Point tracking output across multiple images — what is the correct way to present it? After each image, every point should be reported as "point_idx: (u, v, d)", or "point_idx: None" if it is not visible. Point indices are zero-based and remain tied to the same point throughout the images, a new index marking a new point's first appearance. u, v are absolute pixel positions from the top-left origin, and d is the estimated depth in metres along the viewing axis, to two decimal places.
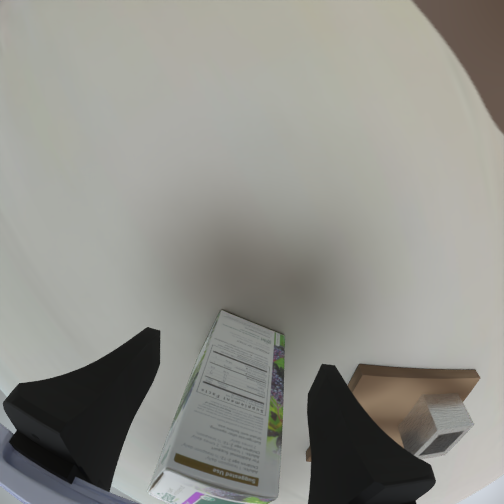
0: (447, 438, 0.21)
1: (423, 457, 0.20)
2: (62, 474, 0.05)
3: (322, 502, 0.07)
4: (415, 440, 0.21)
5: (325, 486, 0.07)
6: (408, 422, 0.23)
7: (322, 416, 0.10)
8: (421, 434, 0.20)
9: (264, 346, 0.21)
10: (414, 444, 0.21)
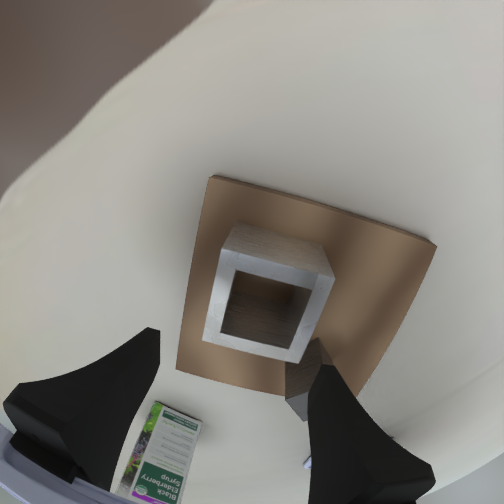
0: None
1: (305, 336, 0.15)
2: (62, 474, 0.05)
3: (322, 502, 0.07)
4: None
5: (325, 486, 0.07)
6: None
7: (322, 416, 0.10)
8: None
9: None
10: None
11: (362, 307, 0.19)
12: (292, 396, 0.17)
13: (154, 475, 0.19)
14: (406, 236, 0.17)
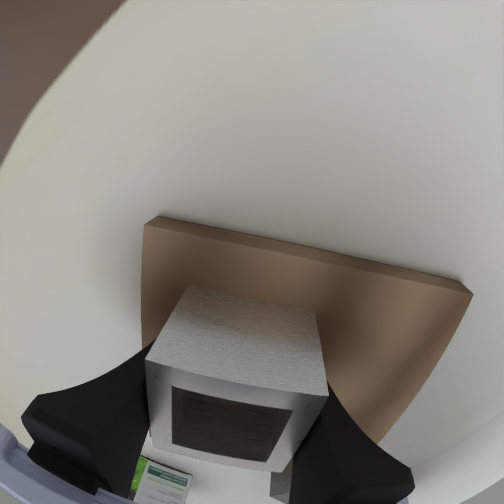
0: None
1: (286, 452, 0.09)
2: (85, 486, 0.05)
3: (300, 502, 0.07)
4: None
5: (303, 486, 0.07)
6: None
7: None
8: None
9: None
10: None
11: (372, 378, 0.14)
12: (278, 493, 0.11)
13: None
14: (435, 287, 0.12)
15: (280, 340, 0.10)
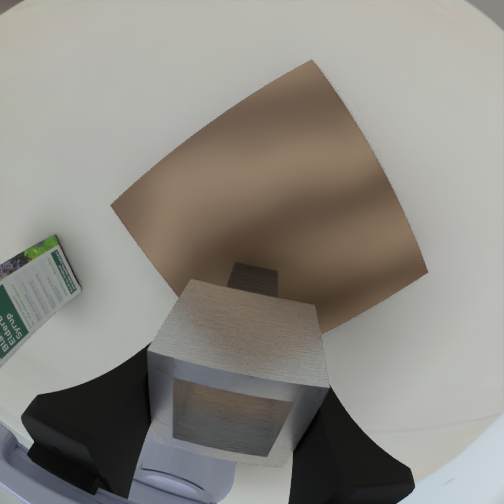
0: None
1: (287, 446, 0.09)
2: (85, 486, 0.05)
3: (300, 502, 0.07)
4: None
5: (303, 486, 0.07)
6: None
7: None
8: None
9: None
10: None
11: (337, 272, 0.19)
12: None
13: (1, 307, 0.14)
14: (415, 241, 0.17)
15: (281, 333, 0.10)
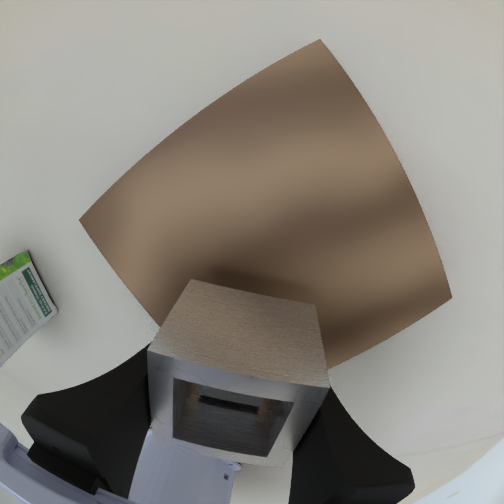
0: None
1: (287, 446, 0.09)
2: (85, 486, 0.05)
3: (300, 502, 0.07)
4: None
5: (303, 486, 0.07)
6: None
7: None
8: None
9: None
10: None
11: (348, 301, 0.15)
12: None
13: None
14: (440, 263, 0.14)
15: (281, 333, 0.10)
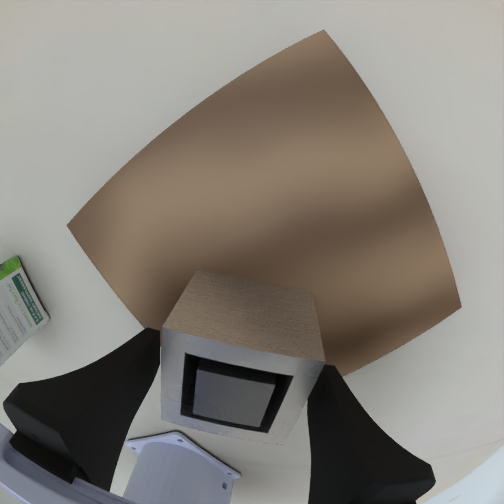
0: None
1: (287, 421, 0.10)
2: (62, 474, 0.05)
3: (322, 502, 0.07)
4: None
5: (325, 486, 0.07)
6: None
7: (322, 416, 0.10)
8: None
9: None
10: None
11: (354, 312, 0.14)
12: (212, 371, 0.10)
13: None
14: (450, 271, 0.13)
15: (282, 315, 0.11)
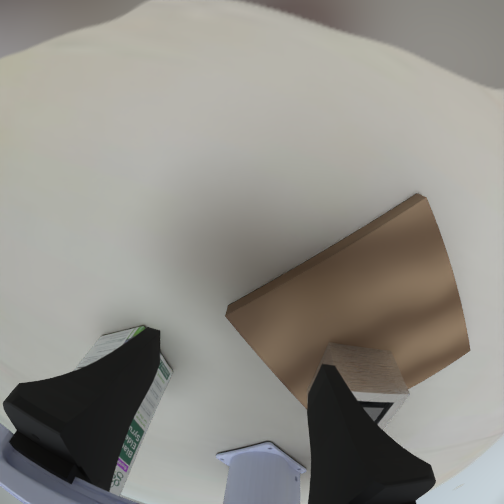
0: None
1: (382, 425, 0.17)
2: (62, 474, 0.05)
3: (322, 502, 0.07)
4: None
5: (325, 486, 0.07)
6: None
7: (322, 416, 0.10)
8: None
9: (116, 345, 0.21)
10: None
11: (410, 359, 0.21)
12: None
13: None
14: (466, 332, 0.20)
15: (383, 370, 0.18)
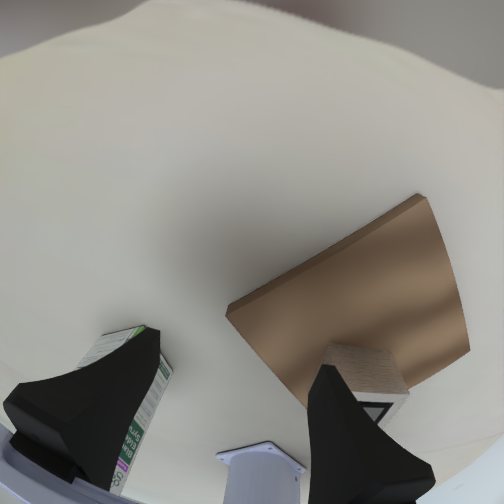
0: None
1: (382, 425, 0.17)
2: (62, 474, 0.05)
3: (322, 502, 0.07)
4: None
5: (325, 486, 0.07)
6: None
7: (322, 416, 0.10)
8: None
9: (116, 345, 0.21)
10: None
11: (410, 359, 0.21)
12: None
13: None
14: (466, 332, 0.20)
15: (383, 370, 0.18)
